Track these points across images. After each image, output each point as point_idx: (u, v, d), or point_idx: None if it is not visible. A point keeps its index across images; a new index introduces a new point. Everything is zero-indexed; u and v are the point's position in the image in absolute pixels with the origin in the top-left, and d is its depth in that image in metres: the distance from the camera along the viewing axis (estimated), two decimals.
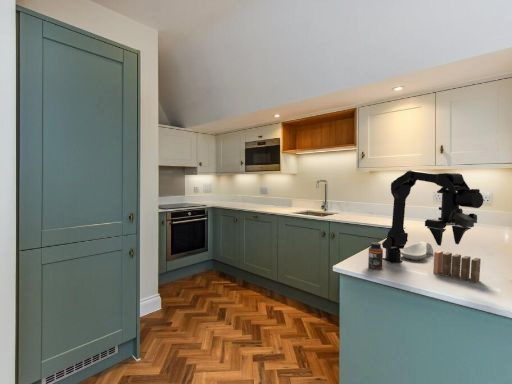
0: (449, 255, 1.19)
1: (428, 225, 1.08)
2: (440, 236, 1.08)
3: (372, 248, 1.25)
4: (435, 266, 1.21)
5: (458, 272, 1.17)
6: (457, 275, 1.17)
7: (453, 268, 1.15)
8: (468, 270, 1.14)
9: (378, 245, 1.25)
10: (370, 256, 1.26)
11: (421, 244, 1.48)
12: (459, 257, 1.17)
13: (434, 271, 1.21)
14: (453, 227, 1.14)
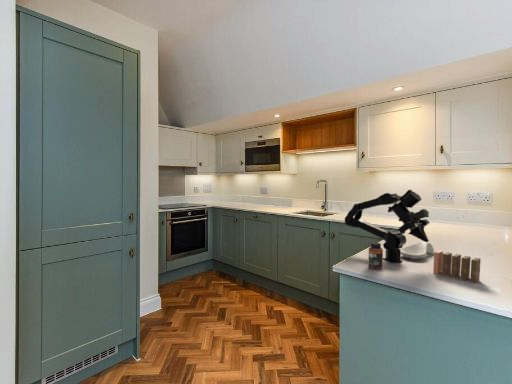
0: (449, 255, 1.19)
1: (403, 230, 1.25)
2: (422, 233, 1.26)
3: (372, 248, 1.25)
4: (435, 266, 1.21)
5: (458, 272, 1.17)
6: (457, 275, 1.17)
7: (453, 268, 1.15)
8: (468, 270, 1.14)
9: (378, 245, 1.25)
10: (370, 256, 1.26)
11: (421, 244, 1.48)
12: (459, 257, 1.16)
13: (434, 271, 1.21)
14: None
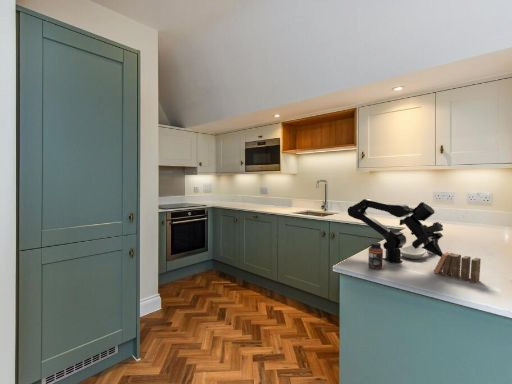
0: None
1: (417, 245, 1.20)
2: (436, 247, 1.21)
3: (372, 248, 1.25)
4: (438, 266, 1.20)
5: (458, 272, 1.17)
6: (457, 275, 1.17)
7: (453, 268, 1.15)
8: (468, 270, 1.14)
9: (378, 245, 1.25)
10: (370, 256, 1.26)
11: (422, 244, 1.49)
12: (459, 257, 1.16)
13: (435, 270, 1.21)
14: None
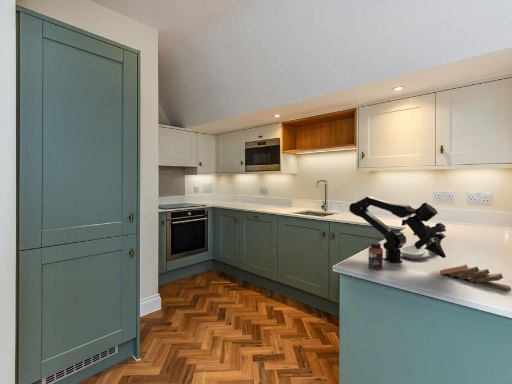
0: (474, 272, 1.11)
1: (419, 246, 1.19)
2: (439, 248, 1.21)
3: (372, 248, 1.25)
4: (447, 271, 1.17)
5: None
6: None
7: (469, 275, 1.11)
8: None
9: (378, 245, 1.25)
10: (370, 256, 1.26)
11: None
12: None
13: (441, 271, 1.19)
14: None
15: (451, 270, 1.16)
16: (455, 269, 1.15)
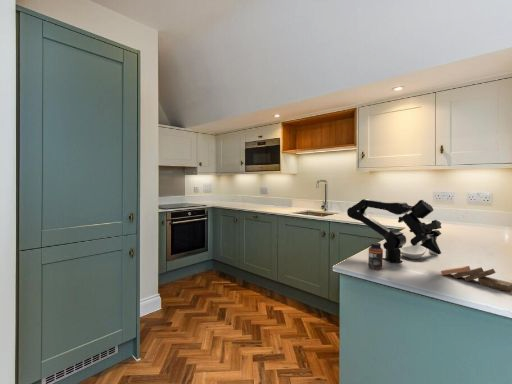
0: (479, 272, 1.10)
1: (415, 242, 1.21)
2: (434, 245, 1.22)
3: (372, 248, 1.25)
4: (448, 271, 1.17)
5: None
6: None
7: (475, 276, 1.09)
8: None
9: (378, 245, 1.25)
10: (370, 256, 1.26)
11: None
12: None
13: (442, 271, 1.19)
14: None
15: (453, 271, 1.15)
16: (457, 270, 1.14)
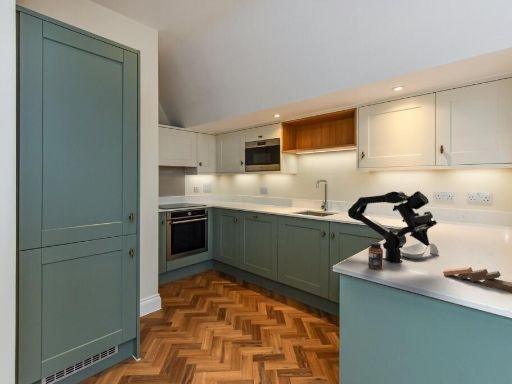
0: None
1: (400, 235, 1.26)
2: (422, 237, 1.25)
3: (372, 248, 1.25)
4: (451, 272, 1.16)
5: None
6: None
7: (481, 277, 1.08)
8: None
9: (378, 245, 1.25)
10: (370, 256, 1.26)
11: (423, 244, 1.49)
12: None
13: (445, 272, 1.18)
14: None
15: (455, 272, 1.15)
16: (460, 271, 1.14)
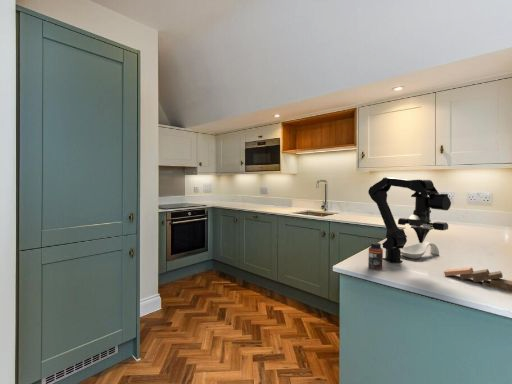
0: None
1: None
2: (417, 234, 1.25)
3: (372, 248, 1.25)
4: (452, 273, 1.16)
5: None
6: None
7: (485, 278, 1.08)
8: None
9: (378, 245, 1.25)
10: (370, 256, 1.26)
11: (424, 244, 1.49)
12: None
13: (446, 272, 1.18)
14: None
15: (457, 272, 1.15)
16: (461, 272, 1.13)
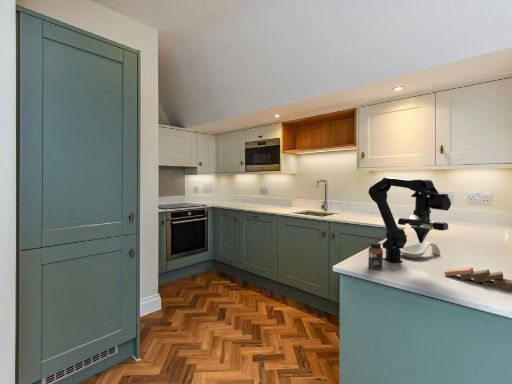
0: None
1: None
2: (417, 234, 1.25)
3: (372, 248, 1.25)
4: (452, 273, 1.16)
5: None
6: None
7: (485, 278, 1.08)
8: None
9: (378, 245, 1.25)
10: (370, 256, 1.26)
11: (424, 244, 1.49)
12: None
13: (446, 272, 1.17)
14: None
15: (457, 272, 1.15)
16: (462, 272, 1.13)
